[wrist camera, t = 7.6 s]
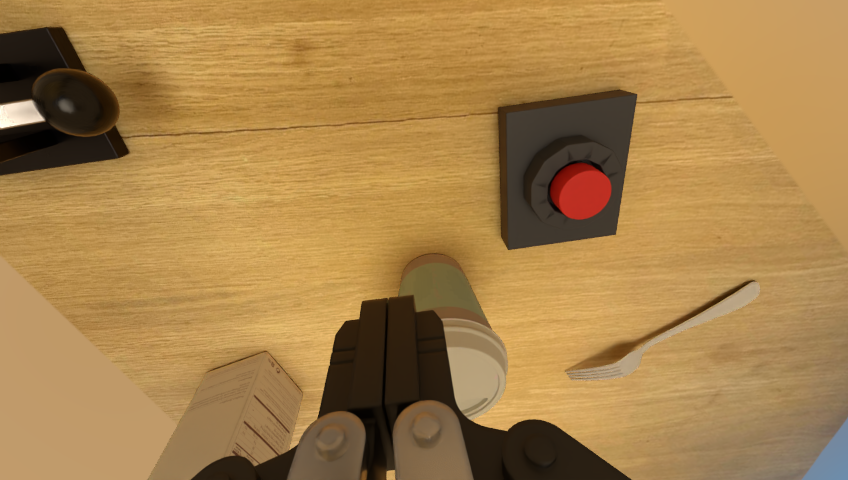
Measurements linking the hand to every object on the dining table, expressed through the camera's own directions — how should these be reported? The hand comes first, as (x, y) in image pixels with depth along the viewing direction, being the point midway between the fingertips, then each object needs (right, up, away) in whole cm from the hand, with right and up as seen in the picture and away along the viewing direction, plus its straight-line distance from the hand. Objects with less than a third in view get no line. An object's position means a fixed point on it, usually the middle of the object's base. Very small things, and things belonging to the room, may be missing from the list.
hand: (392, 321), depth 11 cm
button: (+12, +6, +15) cm, 20 cm away
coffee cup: (+2, -1, +23) cm, 23 cm away
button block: (+11, +8, +19) cm, 23 cm away
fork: (+26, -8, +29) cm, 39 cm away
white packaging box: (-17, -13, +28) cm, 35 cm away
